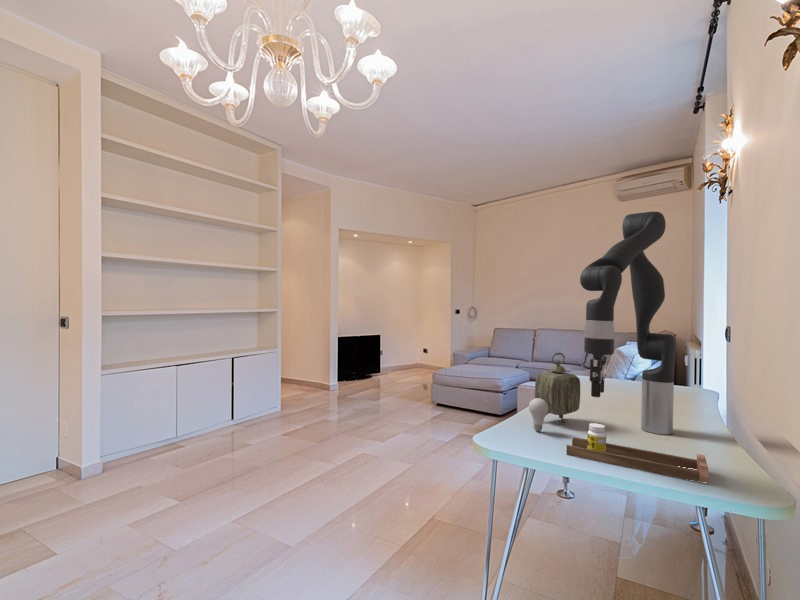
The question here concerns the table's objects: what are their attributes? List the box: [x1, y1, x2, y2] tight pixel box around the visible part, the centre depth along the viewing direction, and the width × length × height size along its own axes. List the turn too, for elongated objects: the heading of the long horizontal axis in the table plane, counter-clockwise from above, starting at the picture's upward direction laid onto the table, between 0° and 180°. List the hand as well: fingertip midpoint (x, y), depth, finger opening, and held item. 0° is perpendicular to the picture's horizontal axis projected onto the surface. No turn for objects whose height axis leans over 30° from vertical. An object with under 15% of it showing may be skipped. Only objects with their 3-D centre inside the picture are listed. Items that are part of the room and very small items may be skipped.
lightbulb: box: [528, 397, 548, 433], centre depth 134 cm, size 6×6×11 cm
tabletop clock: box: [534, 352, 581, 425], centre depth 146 cm, size 14×9×25 cm, turn 121°
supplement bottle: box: [587, 422, 607, 452], centre depth 114 cm, size 5×5×8 cm
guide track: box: [566, 436, 709, 484], centre depth 109 cm, size 10×32×4 cm, turn 57°
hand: (597, 394), depth 114 cm, fingers open, 8 cm apart
